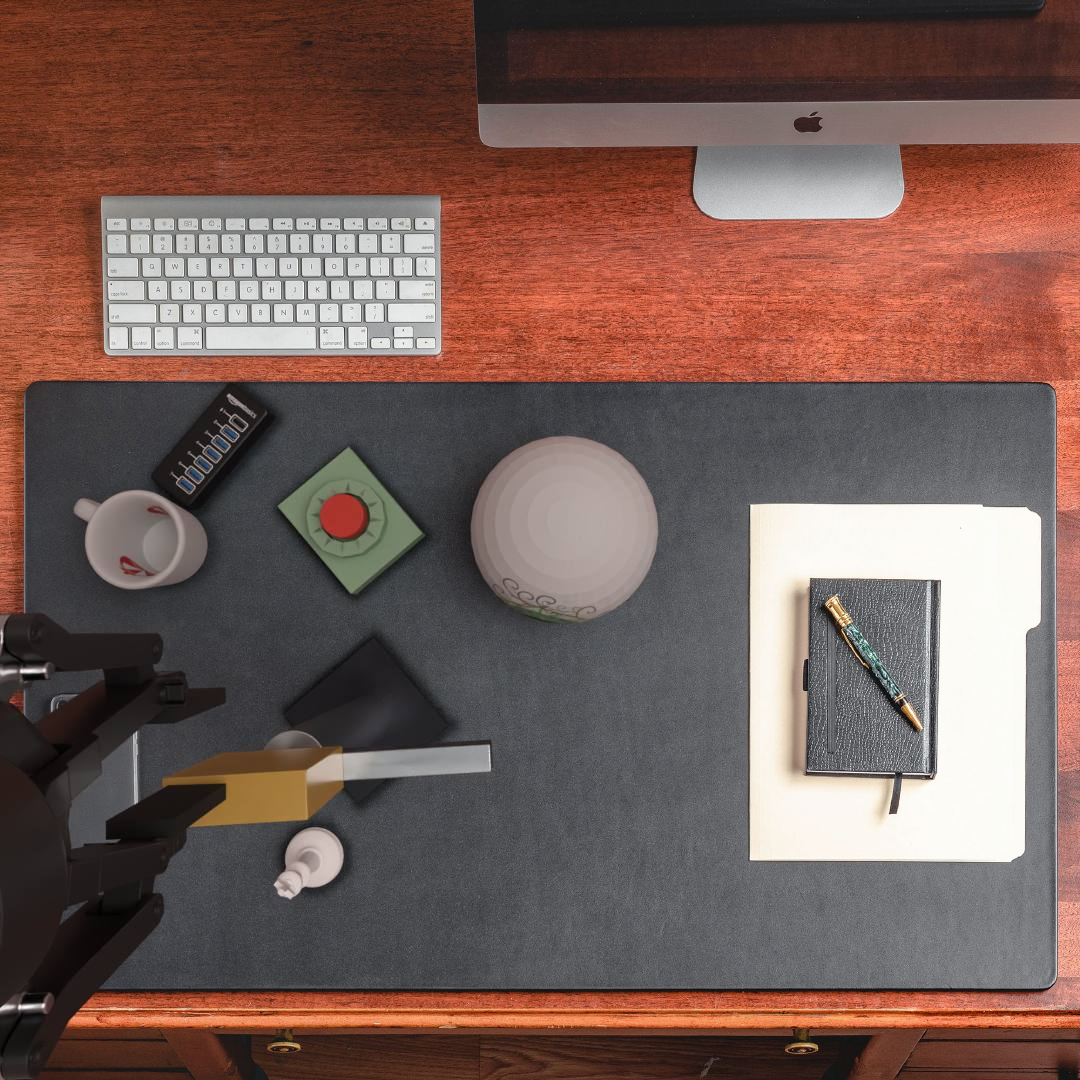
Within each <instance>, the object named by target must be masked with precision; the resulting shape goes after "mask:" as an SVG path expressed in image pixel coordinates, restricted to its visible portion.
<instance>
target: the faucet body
mask: <svg viewBox="0 0 1080 1080" xmlns="http://www.w3.org/2000/svg"><path fill="white" fill-rule="evenodd" d="M283 715H284V717H285V718H286V719H287V720H288V721H289V722H290V724H291V725H292V726H293V727H290V728H288V729H286V730H284V731H282V732H280V733H278V734H276V735H274V736H273V737H272V738H271V739H270V740H269V741H268V742H267V743H266V744H265V745H264V748H263V750H262V751H265V750H282V749H299V748H316V747H333V746H342V748H356V747H373V746H390V745H407V744H424V743H432V741H434V740H435V739H436V738H437V737H438V736H439V735H440V734H442V733H443V732H444V731H445V730H446V729H447V728H449V726H450V723H449V721H448V720H447V719H446V718H445V717H444V715H443V714H442V713H441V712H440V710H439V709H438V708H437V707H436V705H434V703H432V702H431V699H429V697H428V696H427V695H426V694H425V693H424V692H423V691H422V689H421V687H419V686H418V685H417V683H416V682H415V681H414V680H413V679H412V677H411V676H410V675H409V673H407V671H406V670H405V669H404V668H403V667H402V665H400V663H399V661H398V660H396V658H395V657H394V656H393V655H392V654H391V653H390V651H389V650H388V649H387V648H386V646H385V645H384V644H383V643H382V642H381V640H380V639H379V638H378V637H377V636H374V637H372V638H370V639H369V640H368V641H367V642H366V643H365V644H363V646H361V647H360V648H359V649H358V650H356V652H353V654H351V656H349V657H348V658H347V659H346V660H345V661H343V663H341V664H340V665H338V667H336V668H335V669H334V670H333V671H332V672H331V673H329V674H328V675H327V676H326V677H325V678H323V679H322V680H321V681H320V682H318V684H316V686H314V687H313V688H311V690H309V691H308V692H307V693H305V694H304V695H303V696H302V697H301V698H300V699H299V700H298V701H296V702H295V703H294V704H293V705H292V706H291V707H290V708H289V709H287V710H286V711H284V713H283ZM387 780H389V778H384V779H367V780H350V781H343V784H344V788H343V789H345V791H346V792H347V793H348V794H349V795H350V797H351V798H352V799H353V800H354V802H355V803H356V804H357V805H359V804H361V802H363V801H365V799H367V798H368V797H369V796H370V795H371V794H372V793H374V791H375V790H376V789H378V788H379V787H380V786H381V785H383V784H384V783H385V782H386V781H387Z"/></svg>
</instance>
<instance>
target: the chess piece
mask: <svg viewBox="0 0 1080 1080" xmlns="http://www.w3.org/2000/svg"><path fill="white" fill-rule="evenodd" d="M284 863H285V869H284V871H283V872H282V873H280V874H279V875H278V877H277V879H276V881H275V882H274V883H273V886H274V887H275V888H276V891H277V894H278V895H279V896H280V897H281V898H282V897H283V898H288V899H289V900H292V898H294V897H296V896H297V895H298V894H299V893H300V892H301V891H302V889H303V888H305V887H306V888H320V887H323V886H324V885H326V884H328V883H330V882H332V881H333V880H334V879H335V878H336V877H337V876H338V874H339V873H340V871H341V869H342V867H343V863H344V848H343V845H342V843H341V841H340V839H339V838H338V837H337V836H336V835H335V834H334V833H333V832H331V831H330V830H329V829H326V828H324V827H319V826H314V827H313V826H312V827H308V828H305V829H302V830H301V831H299V832H298V833H296V834H295V835H294V836H292V839H291V840H290V841H289V844H288V845H287V848H286V850H285V855H284Z"/></svg>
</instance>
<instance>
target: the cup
mask: <svg viewBox="0 0 1080 1080" xmlns="http://www.w3.org/2000/svg"><path fill="white" fill-rule="evenodd" d="M73 513H74V514H75V515H76V516H77V517H78V518H80V519H82V520H83V521H85V522H87V525H86V529H85V534H84V535H85V536H84V546H85V552H86V557H87V560H88V561H89V564H90V566H91V567H92V569H93V570H94V571H95V573H96V574H97V575H98V576H99V577H100V578H101V579H103V580H104V581H106V582H107V583H109V584H111V585H112V586H115V587H118V588H120V589H125V590H142V589H143V590H145V589H151V588H157V587H162V586H169V585H174V584H179V583H181V582H184V581H187V580H188V579H190V578H191V577H192V576H194V575H195V574H196V573H197V572H198V571H199V569H200V568H201V567H202V566H203V565H204V562H205V559H206V557H207V554H208V547H209V546H208V536H207V533H206V530H205V529H204V526H203V525H202V524H201V522H200V520H198V519H197V518H196V516H195V515H193V514H192V513H190V512H189V511H187V510H186V509H184V508H183V507H181V506H179V505H178V504H176V503H174V502H172V501H171V500H169V499H168V498H166V497H164V496H162V495H161V494H158V493H156V492H153V491H148V490H142V489H132V490H125V491H121V492H119V493H116V494H114V495H112V496H111V497H109V498H106V500H104V501H103V502H102V503H100V502H97V501H95V500H92V499H90V498H85V497H83V498H79V499H78V500H77V501H76V503H75V505H74V507H73Z"/></svg>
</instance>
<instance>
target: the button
mask: <svg viewBox="0 0 1080 1080" xmlns="http://www.w3.org/2000/svg"><path fill="white" fill-rule="evenodd" d="M320 520H321V524H322V526H323V528H324V529H325V530H326V531H327V532H328V533H329V534H331V535H333V536H335V537H338V538H341V539H350V538H354V537H356V536H358V535H359V534H360V533H361V532H362V531H363V530H364V528H365V526H366V523H367V512H366V509H365V507H364V506H363V504H362V503H361V502H360V501H358V500H357V499H355V498H354V497H352V496H350V495H346V494H338V495H335V496H332V497H330V498H329V499H328V500H327V501H326V502H325V503H324V504H323V506H322V508H321V512H320Z"/></svg>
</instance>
